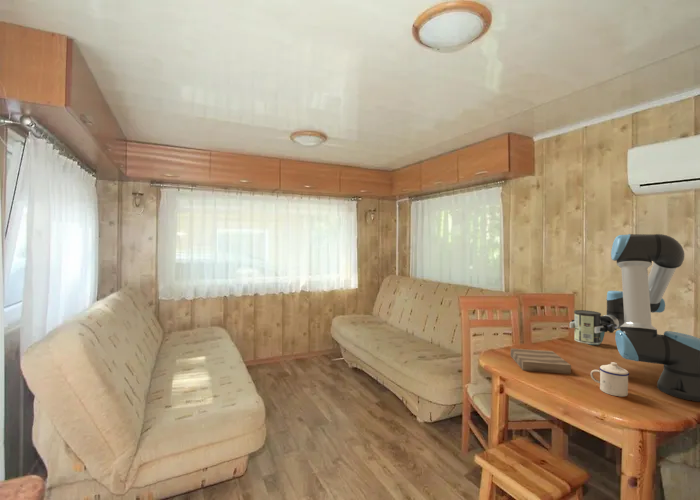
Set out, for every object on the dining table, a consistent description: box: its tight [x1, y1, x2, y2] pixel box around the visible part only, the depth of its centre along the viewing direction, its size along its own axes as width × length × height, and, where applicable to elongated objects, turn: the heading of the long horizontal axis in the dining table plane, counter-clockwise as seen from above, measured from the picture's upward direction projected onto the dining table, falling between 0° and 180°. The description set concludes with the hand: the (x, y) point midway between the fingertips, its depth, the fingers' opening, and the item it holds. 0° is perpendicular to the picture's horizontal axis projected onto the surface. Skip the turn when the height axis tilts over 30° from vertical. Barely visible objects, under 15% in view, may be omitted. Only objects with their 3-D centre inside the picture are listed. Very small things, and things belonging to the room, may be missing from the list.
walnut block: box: [510, 348, 572, 375], centre depth 159 cm, size 20×20×4 cm
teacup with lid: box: [590, 361, 630, 398], centre depth 130 cm, size 12×9×12 cm
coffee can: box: [573, 309, 602, 345], centre depth 155 cm, size 10×10×14 cm
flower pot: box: [589, 332, 606, 346], centre depth 193 cm, size 9×9×9 cm
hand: (582, 327), depth 153 cm, fingers closed on coffee can, 10 cm apart
